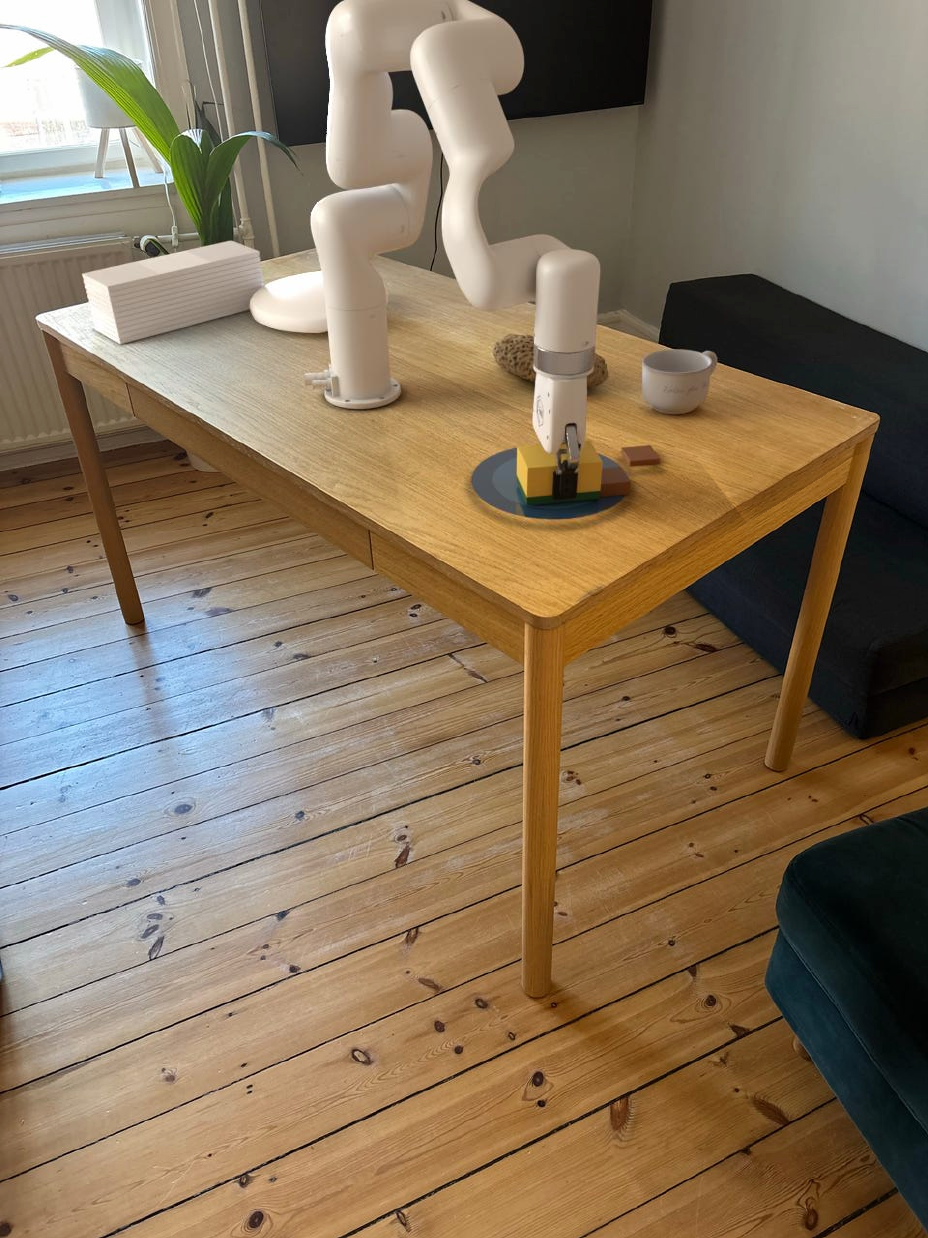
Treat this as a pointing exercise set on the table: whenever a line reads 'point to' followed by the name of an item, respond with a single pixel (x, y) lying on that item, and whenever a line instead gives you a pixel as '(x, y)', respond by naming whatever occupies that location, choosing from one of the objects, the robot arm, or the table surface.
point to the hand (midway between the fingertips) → (557, 484)
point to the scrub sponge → (539, 474)
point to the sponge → (519, 358)
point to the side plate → (502, 492)
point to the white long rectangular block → (173, 290)
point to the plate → (294, 304)
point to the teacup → (677, 379)
